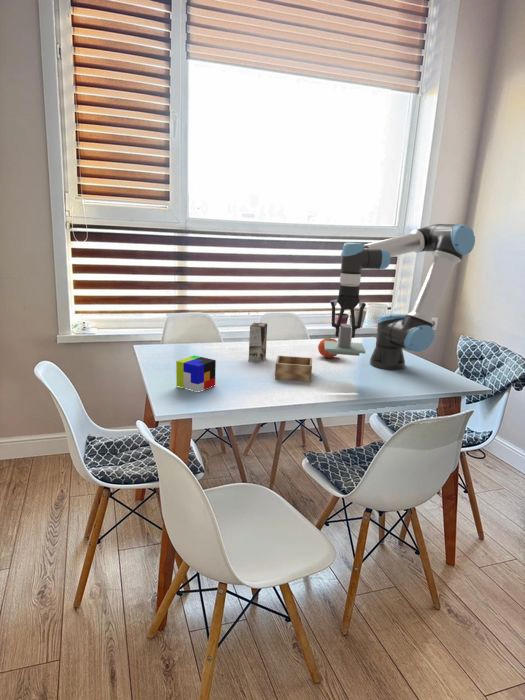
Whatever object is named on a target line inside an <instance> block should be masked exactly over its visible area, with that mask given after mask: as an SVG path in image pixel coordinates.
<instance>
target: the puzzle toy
mask: <svg viewBox="0 0 525 700" xmlns="http://www.w3.org/2000/svg"><path fill="white" fill-rule="evenodd" d="M216 364H217V363H216V359H213V358H208V357H204V356H200V355H196V354H195V355H191V356H188V357H185V358H182V359H181V358H180V359H179V360H176V375H175V376H176V377H175V378H176V387H177V386H180V387H183V388H187V389H191V390H193V391H197V392H198V391H201V390H204V389H206V388H209V387H211V386H214V385H215V386H216V370H217V369H216V366H217V365H216ZM215 386H214V387H215ZM211 388H212V387H211ZM209 389H210V388H209ZM204 391H205V390H204Z"/></svg>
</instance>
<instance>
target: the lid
mask: <svg viewBox="0 0 525 700" xmlns="http://www.w3.org/2000/svg"><path fill="white" fill-rule="evenodd" d="M340 328H341V337H340V346H338V345H337V343H338V342H334V341H324V347H325V351H329V354H337V355H342V356H343V355H345V356H357V357H358V356H361V355H360V354H366V350H365V347H364V345H363V343H359V342H351V347H349V346H350V335H351V329H352V325H351V323H350V324H349V323H341V324H340Z"/></svg>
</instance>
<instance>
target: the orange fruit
mask: <svg viewBox="0 0 525 700" xmlns="http://www.w3.org/2000/svg"><path fill="white" fill-rule="evenodd" d="M324 341H334V342H338V339H336V338H331V337H328V338H327V337H326V338H325V337H324V338H323V339H322V340H321V341H319V343H318V345H317V349H318V353H319V354H320V355H321V357H324V358H327V359H330V358H335V357H337V355H338V354H329V351H325V347H324Z"/></svg>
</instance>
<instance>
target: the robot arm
mask: <svg viewBox="0 0 525 700" xmlns="http://www.w3.org/2000/svg"><path fill="white" fill-rule="evenodd" d="M475 243H476V236H475V232H474V230H473V228H472V227H471V226H469V225H467V224H461V223H456V224H455V223H451V224H450V223H436V224H431V225H429V226H425V227H421V228H417V229H413V230H412V231H411V232H410V233H408V234H407V233H406V234H404V235H398V236H394V237H391V238H387V239H383V240H382V239H381V240H378V241H374V242H370V243H366V244H365V243H359V242H345V243H344V244H343V245H342V247H343V248H342V251H341V254H340V259H341V265H340V276H339V283H340V285H339V286H338V287H339V288H338V296H337V298H336V299H334V300H330V305H331V327H333V328H335V332H334V333H335V337H336V338H337V341H338V343H337V345H338V346H340V337H341V328H340V327H341V324H342V321H343V320H342V319H343V316H344V313H345V310H349V311H350V320H351V323H350V324H351V335H350V346H349V347H351V343H352V339H354V338H355V336H356V330H357V329H361V327H362V319H363V314H364V309H365V307H366V306H367V305H366V302H363V301H361V300H360V284H361V278H362V277H361V276H362V270H379V271H380V270H385V269H387V268H388V267H389V266H390V264H391V258H392V257H398V256H399V255H400V256H401V255H404V254H408V253H412V252H414V253H418V254H419V253H422V252H432V255H433V260H432V263H431V264H430V267H429V269H428V271H427V274H426V277H425V278H424V281H423V284H422V285H421V288H420V291H419V293H418V295H417V297H416V300H415V302H414V304H413V307H412V309H411V311H410V312H408V313H405V314H401V313H393V314H392V313H386V314H385V313H383V314H381V315H379V317H378V321H377V327H376V328H377V329H376V341H375V346H374V349H373V352H372V353H371V356H370V358H369V359H370V360H369V364H370V365H371V366H373V367H375V368H379V369H384V370H400V369H402V370H403V369H404V368H405V365H406V360H405V355H404V351H403V349H405V350H407V351H410V352H415V353H422V352H424V351H426V350H427V349H428V348H430V347H431V345H432V344H433V342H434V340H435V330H434V328H433V326H434V321H433V317H434V315H435V313H436V309H437V308H438V305H439V303H440V300H441V299H442V296H443V293H444V291H445V289H446V286H447V285H448V282H449V279H450V278H451V275H452V273H453V269H454V268H455V265H457V264H458V263H461V262H462V260H463V257H464V256H466V255H469V253H471V252H472V251H473V249H474V247H475V245H476V244H475ZM337 305H339V306H340V310H339V314H338V317H337V321H336V306H337ZM357 306H358V307H359V309H358V311H359V312H358V315H357V322H356V317H355V308H356V307H357Z"/></svg>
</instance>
